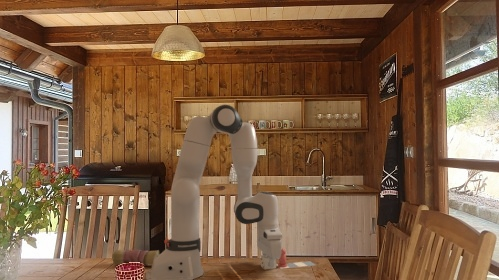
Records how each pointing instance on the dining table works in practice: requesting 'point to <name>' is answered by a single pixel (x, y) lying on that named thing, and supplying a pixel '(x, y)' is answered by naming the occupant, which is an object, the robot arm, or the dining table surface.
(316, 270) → the dining table surface
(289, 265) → the board
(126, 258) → the rolled towel
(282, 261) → the pawn
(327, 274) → the dining table surface
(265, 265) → the die
